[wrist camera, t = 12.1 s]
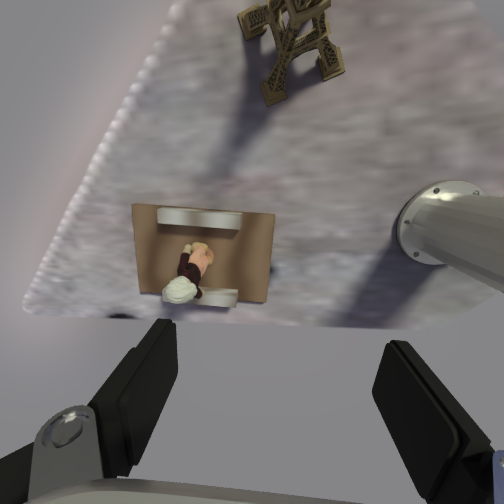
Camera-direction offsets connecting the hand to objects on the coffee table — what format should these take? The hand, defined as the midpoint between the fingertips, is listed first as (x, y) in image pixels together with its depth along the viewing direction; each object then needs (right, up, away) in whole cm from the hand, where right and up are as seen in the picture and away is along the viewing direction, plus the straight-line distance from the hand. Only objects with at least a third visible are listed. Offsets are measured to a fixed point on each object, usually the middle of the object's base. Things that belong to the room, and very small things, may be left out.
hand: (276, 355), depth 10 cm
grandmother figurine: (-9, +4, +28) cm, 29 cm away
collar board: (-9, +4, +29) cm, 30 cm away
